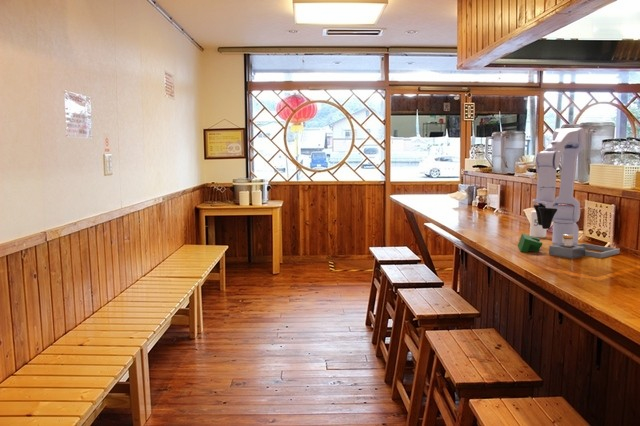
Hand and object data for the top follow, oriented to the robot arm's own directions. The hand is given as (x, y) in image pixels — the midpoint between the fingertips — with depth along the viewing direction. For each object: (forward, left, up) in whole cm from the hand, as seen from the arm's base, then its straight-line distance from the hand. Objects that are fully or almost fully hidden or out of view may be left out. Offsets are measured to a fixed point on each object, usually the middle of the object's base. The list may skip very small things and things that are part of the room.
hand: (543, 226), depth 168 cm
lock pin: (-4, +6, -9) cm, 12 cm away
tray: (-15, +9, -10) cm, 20 cm away
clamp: (-2, -6, -11) cm, 12 cm away
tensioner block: (-4, +6, -10) cm, 13 cm away
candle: (-35, -23, -10) cm, 43 cm away
